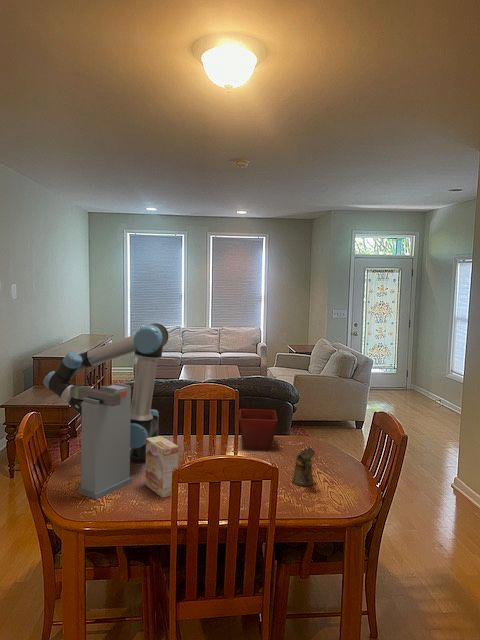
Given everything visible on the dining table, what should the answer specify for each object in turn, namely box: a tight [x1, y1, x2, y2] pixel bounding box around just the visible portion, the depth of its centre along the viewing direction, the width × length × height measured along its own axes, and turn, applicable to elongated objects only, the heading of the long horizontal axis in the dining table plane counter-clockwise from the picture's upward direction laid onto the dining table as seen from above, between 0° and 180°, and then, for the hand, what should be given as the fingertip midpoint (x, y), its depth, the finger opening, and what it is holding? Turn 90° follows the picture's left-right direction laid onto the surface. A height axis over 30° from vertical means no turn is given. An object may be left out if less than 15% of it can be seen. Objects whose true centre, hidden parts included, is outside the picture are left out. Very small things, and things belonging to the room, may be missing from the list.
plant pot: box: [238, 408, 278, 451], centre depth 241 cm, size 19×19×17 cm
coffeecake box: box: [144, 435, 179, 499], centre depth 186 cm, size 15×7×20 cm, turn 37°
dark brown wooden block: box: [70, 385, 120, 407], centre depth 181 cm, size 24×4×4 cm, turn 58°
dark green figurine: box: [291, 447, 315, 487], centre depth 195 cm, size 9×14×18 cm, turn 3°
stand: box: [77, 382, 133, 500], centre depth 185 cm, size 10×19×41 cm, turn 148°
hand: (111, 425), depth 202 cm, fingers open, 13 cm apart
